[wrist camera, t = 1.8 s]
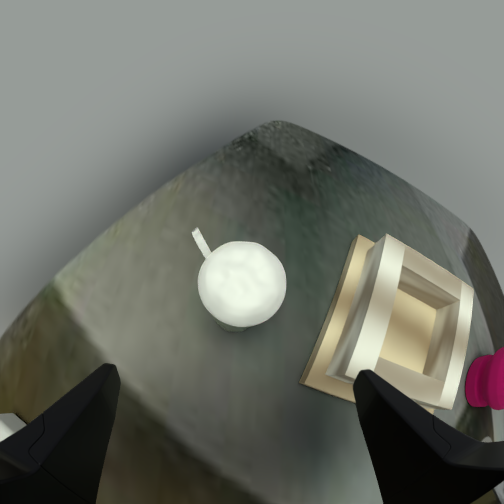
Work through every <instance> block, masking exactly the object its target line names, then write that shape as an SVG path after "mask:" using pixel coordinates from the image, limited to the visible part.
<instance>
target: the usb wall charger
mask: <svg viewBox="0 0 504 504" xmlns="http://www.w3.org/2000/svg"><path fill="white" fill-rule="evenodd" d="M26 425H27V424H25V423H24V422H23V421H22V420H21V419H19V418H18V417H17V416H16V415H15V414H14V413H8V414H0V442H1V441H2V440H4V439H5V438H7V437H9V436H10V435H12V434H14V433H15V432H17V431H18V430H20V429H21V428H23V427H24V426H26Z"/></svg>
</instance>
